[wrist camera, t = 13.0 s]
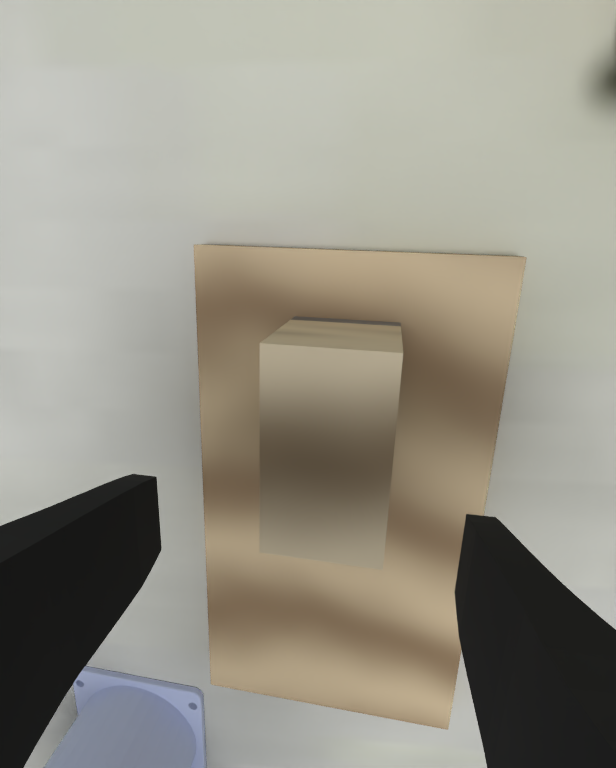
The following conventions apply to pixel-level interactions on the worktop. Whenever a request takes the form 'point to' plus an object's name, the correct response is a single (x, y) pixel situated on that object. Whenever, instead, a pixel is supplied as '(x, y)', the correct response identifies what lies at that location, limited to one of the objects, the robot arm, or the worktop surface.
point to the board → (408, 483)
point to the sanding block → (328, 438)
